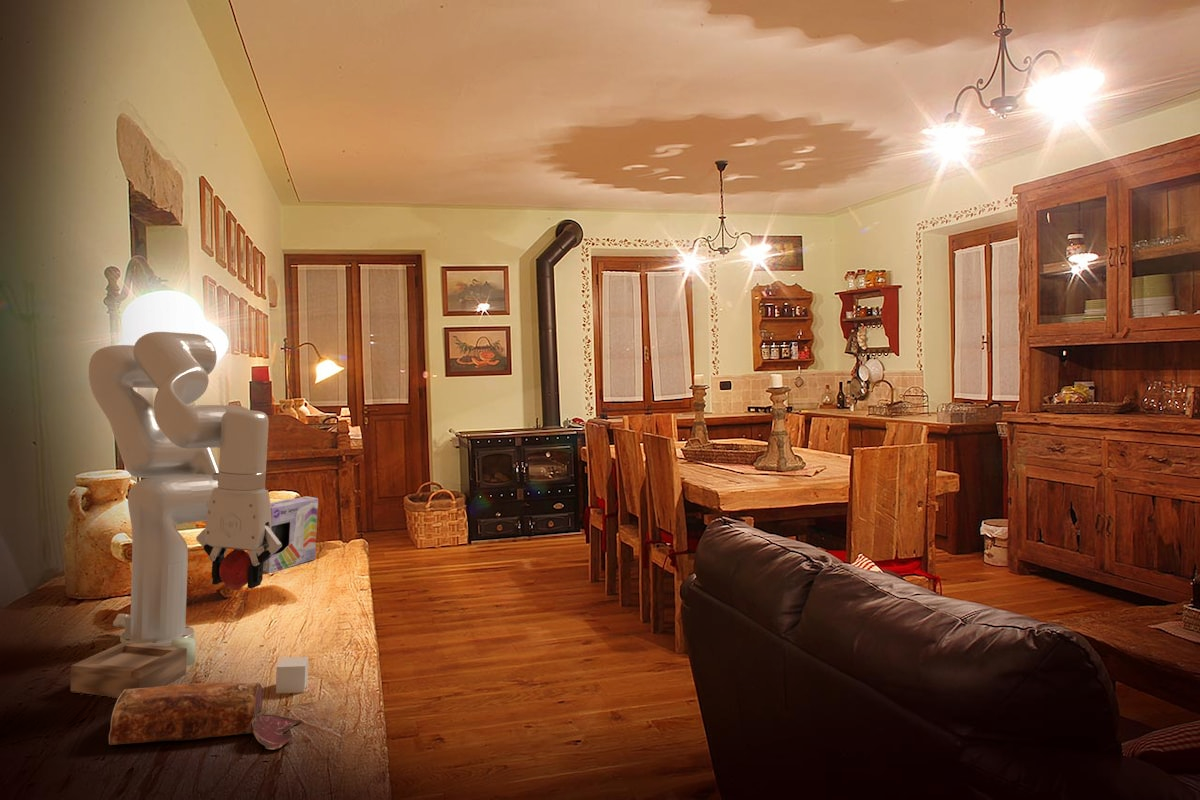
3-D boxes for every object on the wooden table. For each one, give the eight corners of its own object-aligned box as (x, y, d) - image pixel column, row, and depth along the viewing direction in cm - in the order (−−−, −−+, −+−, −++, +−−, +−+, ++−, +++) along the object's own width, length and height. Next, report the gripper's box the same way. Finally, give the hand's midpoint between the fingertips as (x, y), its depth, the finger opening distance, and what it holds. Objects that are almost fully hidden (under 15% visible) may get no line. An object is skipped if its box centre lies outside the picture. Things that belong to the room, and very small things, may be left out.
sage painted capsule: (165, 665, 149) (165, 643, 148) (179, 658, 153) (180, 636, 152) (186, 667, 148) (186, 645, 148) (199, 660, 152) (200, 638, 152)
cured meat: (297, 753, 118) (298, 704, 118) (98, 767, 112) (100, 716, 112) (306, 705, 136) (307, 663, 136) (134, 715, 129) (136, 671, 129)
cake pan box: (266, 574, 214) (269, 506, 214) (251, 572, 216) (254, 504, 216) (317, 560, 232) (319, 497, 232) (302, 558, 234) (305, 495, 234)
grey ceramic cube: (275, 693, 139) (276, 667, 138) (279, 683, 143) (280, 657, 143) (304, 692, 140) (305, 666, 139) (307, 682, 144) (308, 657, 144)
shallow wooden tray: (70, 693, 135) (71, 665, 134) (122, 667, 146) (123, 642, 146) (138, 700, 133) (139, 672, 133) (185, 674, 145) (186, 648, 145)
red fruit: (240, 597, 142) (243, 550, 142) (210, 592, 143) (213, 546, 143) (261, 588, 148) (263, 543, 148) (232, 584, 149) (234, 539, 149)
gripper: (182, 480, 142) (177, 584, 143) (277, 489, 140) (271, 595, 141) (208, 474, 150) (203, 574, 151) (299, 483, 147) (294, 584, 148)
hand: (236, 583), depth 146 cm, fingers closed on red fruit, 5 cm apart
